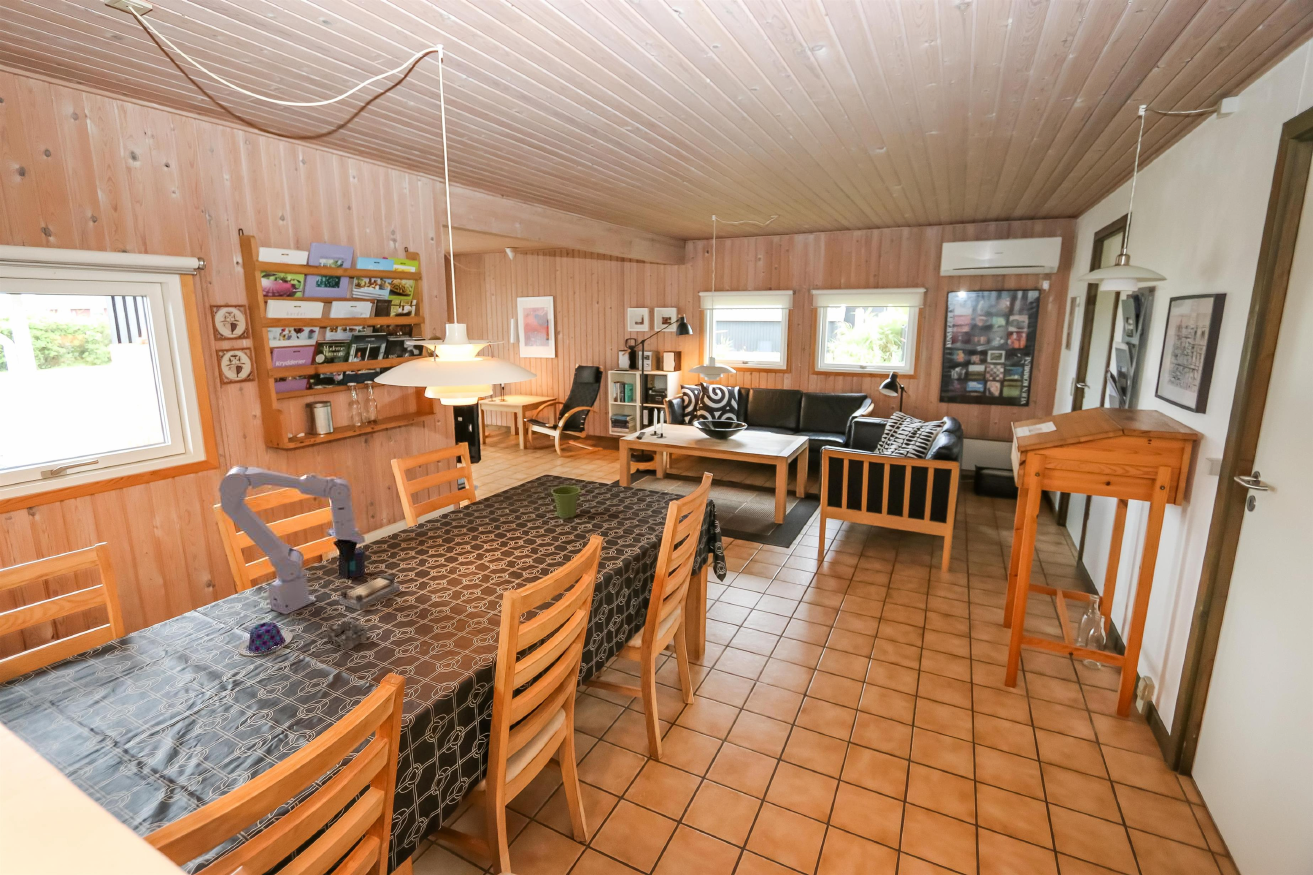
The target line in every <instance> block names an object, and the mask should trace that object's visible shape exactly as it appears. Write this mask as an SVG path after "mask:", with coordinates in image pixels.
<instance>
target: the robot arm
mask: <svg viewBox="0 0 1313 875" xmlns="http://www.w3.org/2000/svg"><path fill="white" fill-rule="evenodd" d="M262 486H272V487H281V488H288V489H294V490H295V489H296V490H298V491H299V493H300V494H301V495H305V496H312V497H318V498H325V499H326V498H328V499H329V500H330V512H331V519H332V525H333V528H330V529H327V530H326V534H327V535H326V536H327V537H328V538H329V537H333V538H334V539H336V540H334V541H333V545H334V546H335V547H336V549H337V550H338V552H339V551H340V553H341V555H342V558H343V560H344V562H345V563H349V562H352V561H353V560H354V553H355V549H356V548H357V546H358V545H361V544H363V543H366V538H365V536H364V535H363V534H361V533H360V530H359V529H358V528H356V523H355V515H354V509H353V503H352V497H351V494H352V492H351V484H350V482H349V481H348V480H346V479H344V478H342V477H337V478H335V477H331V476H330V478H328V477H323V476H319V475H318V476H317V473H314V472H312V473H311V474H305V475H302V476H301V477H299V476H296V475H290V474H285V473H281V472H277V471H274V470H273V471H271V470H268V469H264V468H263V469H262V468H259V467H255V466H249V467H248V466H246V465H235V466H232V467H231V468H230V469H229V470H228V471H227V473H226V475H225V476H223V478H222V479H221V481H220V484H219V487H218V492H219V497H220V498H219V499H220V504H221V505H220V506H221V510H222V512H223V513H224V514H226V515H227V516H228V518H229V519H230V520H231V521H232V522H233V523H234V524H235V525H236V526H237V527H238V528H240V530H241V531H242V532H243V533H244V534H245V535H246V536H247V537H248V538H249V539H250V540H251V541H252V542H254V544H255V545H256V546H257V547H258V548H259V549H260V550H261V551H262V552H263V553H264V554H265V555H266V556H267V557H268V560H269V562H270V565H271V566H272V567H273V569H275V573H276V578H277V579H276V580H275V581H274V582H272V583H270V584H268V590H267V592H268V597H269V603H270V606H269V609H270V610H273V611H276V612H279V613H281V614H283V615H287V614H290V613H292V612H294V611H296V610H299V609H301V608H304V607H305V606H308V605H310V604H311V603H314V602H317V598H315V597H312V596H310V593H309V586H308V578H307V577H308V576H307V571H306V570H305V569H304V568H303V567H302V566H303V563H304V560H305V557H304V554H303V553H302V551H300V550H299V549H297V548H294V547H292V546H291V545H290V544H288V543H285V542H283V541H282V540H281V538H280V537H279V536H277V534H275V533H274V531H273V530H272V529H271V528H270V526H268V525H267V524H266V523H265V522H264V521H263V520H262V519H261V518H260V517H259V516H258V515H257V514H256V512H255V511H253V510H252V508H251V507H250V506H248V504H246V502H245V501H246V496H247V493H248V492H247V491H248V489H249V487H251V490H255V489H258V488H260V487H262Z"/></svg>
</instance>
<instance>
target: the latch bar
mask: <svg viewBox="0 0 1313 875" xmlns="http://www.w3.org/2000/svg"><path fill="white" fill-rule="evenodd" d="M389 584H391V583H390V581H388V580H384V579H381V578H380V577H378V578H376V579H374V580H372V581H370V582H368V583H366V584H364V585H362V586H359V587H358V588H356V589H354V591H353V590H352V592H351V591H349V592H350V593H349V592H347V593H348V594H346V597H348V598H351V599H354V600H356V596H357V595H359V594H361V595H362V598H364V597H366V596H368V595H370V594H372V593H373V592H375V591H377V590H379V589H381V588H383V587H385V586H387V585H389Z"/></svg>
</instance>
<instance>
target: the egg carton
mask: <svg viewBox="0 0 1313 875" xmlns="http://www.w3.org/2000/svg"><path fill="white" fill-rule="evenodd" d="M323 628H325V629H326V630H327V632H326V634H325V637H326V640H327V642H333V645H334V646H340V649H341V650H346V649H348V650H351V649H352V648H354V645H356V644H359V643H361V644H362V643H365V642H366V639H368V633H367V630H368V629H369V627H366V626H365V625H363V624H362V623H360V622H358V621H357V620H355V619H354V618H350V619H348V620H345V621H344V620H343V621H342V622H341V623H339V622H338V623H337V624H336V626H334V627H333V626H332V625H328V626H327V625H323ZM343 631H344V632H343ZM342 632H343V634H342ZM341 634H342V635H341ZM337 636H339V637H337Z"/></svg>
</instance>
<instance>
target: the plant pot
mask: <svg viewBox="0 0 1313 875" xmlns="http://www.w3.org/2000/svg"><path fill="white" fill-rule="evenodd" d="M580 492H581V488H580V487H578V486H575V485H563V486H557V487H554V488H552V489H551V492H550V493H551V494H552V495H553V498H554V502H555V503H554V504H555V507H556V511H557V515H558V517H559V518H560V519H569V518H574V517H576V515H577V507H578V498H579V496H580V495H579V493H580Z"/></svg>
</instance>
